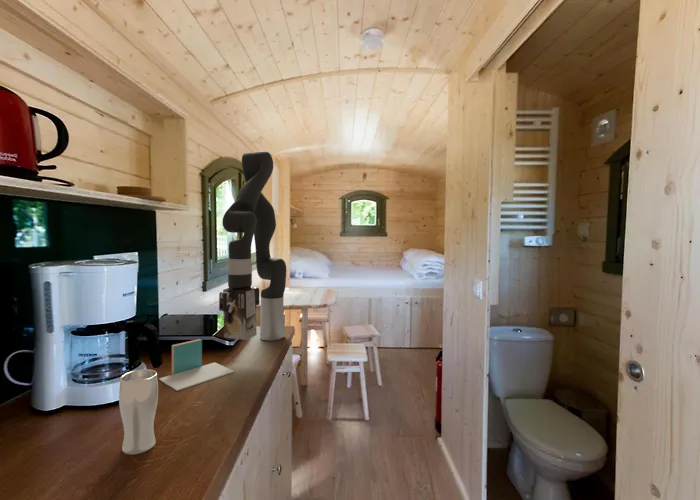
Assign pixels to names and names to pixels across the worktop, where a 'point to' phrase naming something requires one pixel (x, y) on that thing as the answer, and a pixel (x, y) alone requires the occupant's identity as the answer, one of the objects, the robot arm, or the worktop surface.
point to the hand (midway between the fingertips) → (240, 320)
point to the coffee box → (242, 315)
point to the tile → (186, 356)
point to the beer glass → (138, 409)
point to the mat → (195, 376)
